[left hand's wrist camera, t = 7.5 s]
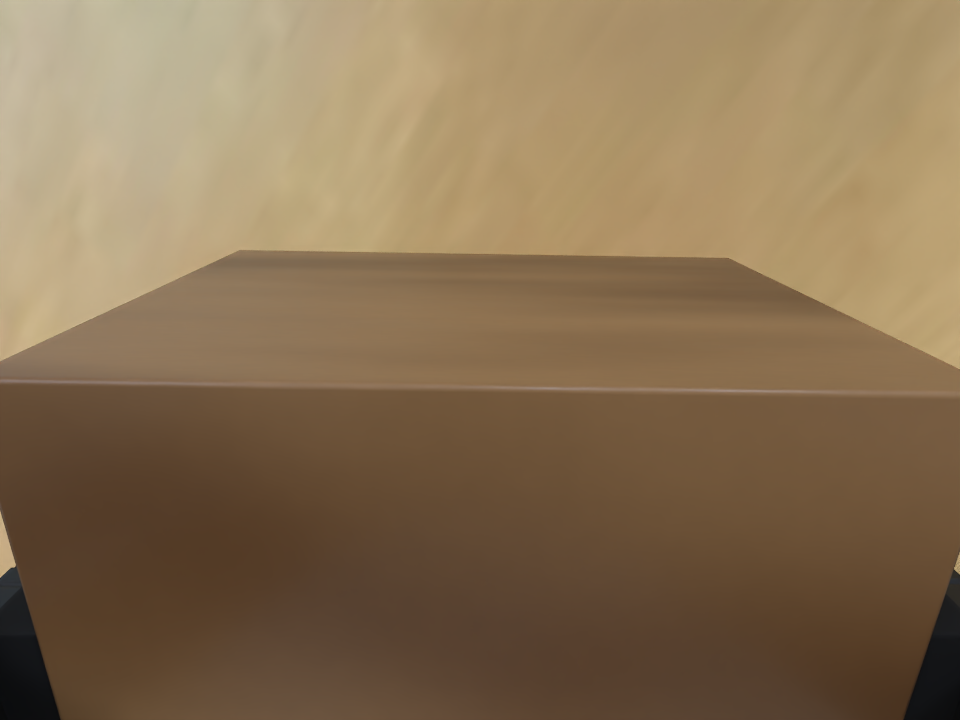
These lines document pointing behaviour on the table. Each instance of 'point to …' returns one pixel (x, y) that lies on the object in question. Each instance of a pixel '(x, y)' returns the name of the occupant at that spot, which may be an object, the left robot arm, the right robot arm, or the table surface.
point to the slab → (480, 495)
